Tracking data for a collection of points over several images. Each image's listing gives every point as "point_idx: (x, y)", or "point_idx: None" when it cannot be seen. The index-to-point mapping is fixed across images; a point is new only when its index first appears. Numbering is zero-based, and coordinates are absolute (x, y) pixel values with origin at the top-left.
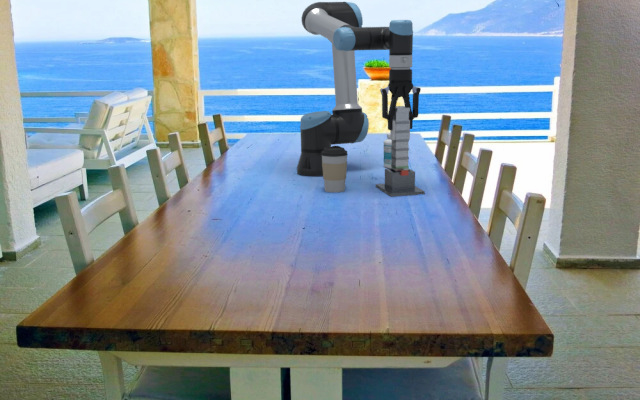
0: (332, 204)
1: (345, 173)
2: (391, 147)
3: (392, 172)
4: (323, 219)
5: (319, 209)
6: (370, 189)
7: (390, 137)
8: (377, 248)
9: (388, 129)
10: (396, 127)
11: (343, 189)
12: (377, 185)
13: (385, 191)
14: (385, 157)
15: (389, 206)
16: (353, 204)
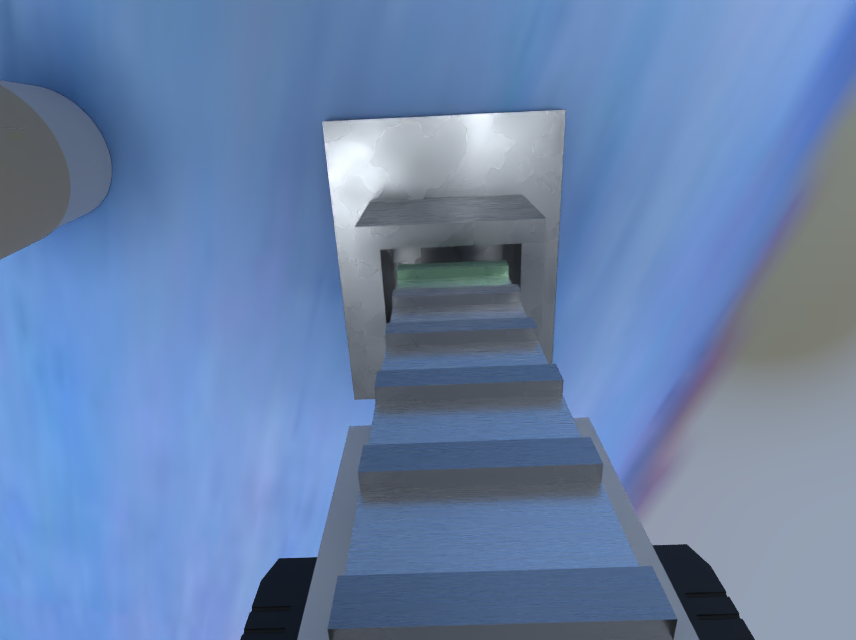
0: (58, 461)
1: (38, 224)
2: (385, 340)
3: (378, 370)
4: (42, 635)
5: (8, 521)
6: (280, 188)
7: (346, 446)
8: None
9: (278, 571)
10: None
11: (96, 202)
12: (327, 166)
13: (346, 322)
14: None
15: (312, 540)
16: (158, 481)
